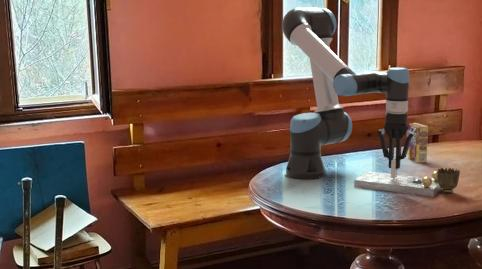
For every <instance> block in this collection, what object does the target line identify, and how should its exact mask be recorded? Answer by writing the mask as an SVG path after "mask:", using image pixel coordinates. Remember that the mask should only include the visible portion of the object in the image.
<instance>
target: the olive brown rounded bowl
mask: <svg viewBox="0 0 482 269" xmlns="http://www.w3.org/2000/svg"><path fill="white" fill-rule="evenodd" d="M436 171H437V177H438V184H439V186H440V187H441V188H442V189H441V191H442V193H443V194H447V195H450V194H453V193H454V190H455V189H456V188H457V186H458V184H459V179H460V173H461V171H460V169H457V168H456V169H454V168H450V167H449V168H447V167H446V168H443V167H441V168H438V169H437V170H436Z"/></svg>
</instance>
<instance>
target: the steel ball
mask: <svg viewBox="0 0 482 269" xmlns="http://www.w3.org/2000/svg"><path fill="white" fill-rule="evenodd" d="M413 183H415V184H422V181H421V180H419V179H416V180H414V181H413Z"/></svg>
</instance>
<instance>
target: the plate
mask: <svg viewBox="0 0 482 269" xmlns="http://www.w3.org/2000/svg"><path fill="white" fill-rule="evenodd" d="M423 178H424V177H421V176H414V175H413V176H412V175H404V174H397V177H396V178H391V173H387V172H385V173H384V172H377V171H365V173H363V174H361V175H360V176H358V177H356V178H355V179H354V182H353V186H354V187H355V188H362V189H363V188H364V189H369V190H370V189H371V190H379V191H386V192H395V193H402V194H409V195H418V196H427V197H433V198H434V196H436V195H437V194H438V193H439V192H440V191H442V189H443V188H441V187H440V186H439V184H438V181H434V180H433V179H432V177H431V178H430V177H429V178H430V179H431V180H432V184H431V185H430V186H429V187H425V186H423V185H422V184H415V183H413V181H414V180H416V179H419V180H421V181H422V179H423Z"/></svg>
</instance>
